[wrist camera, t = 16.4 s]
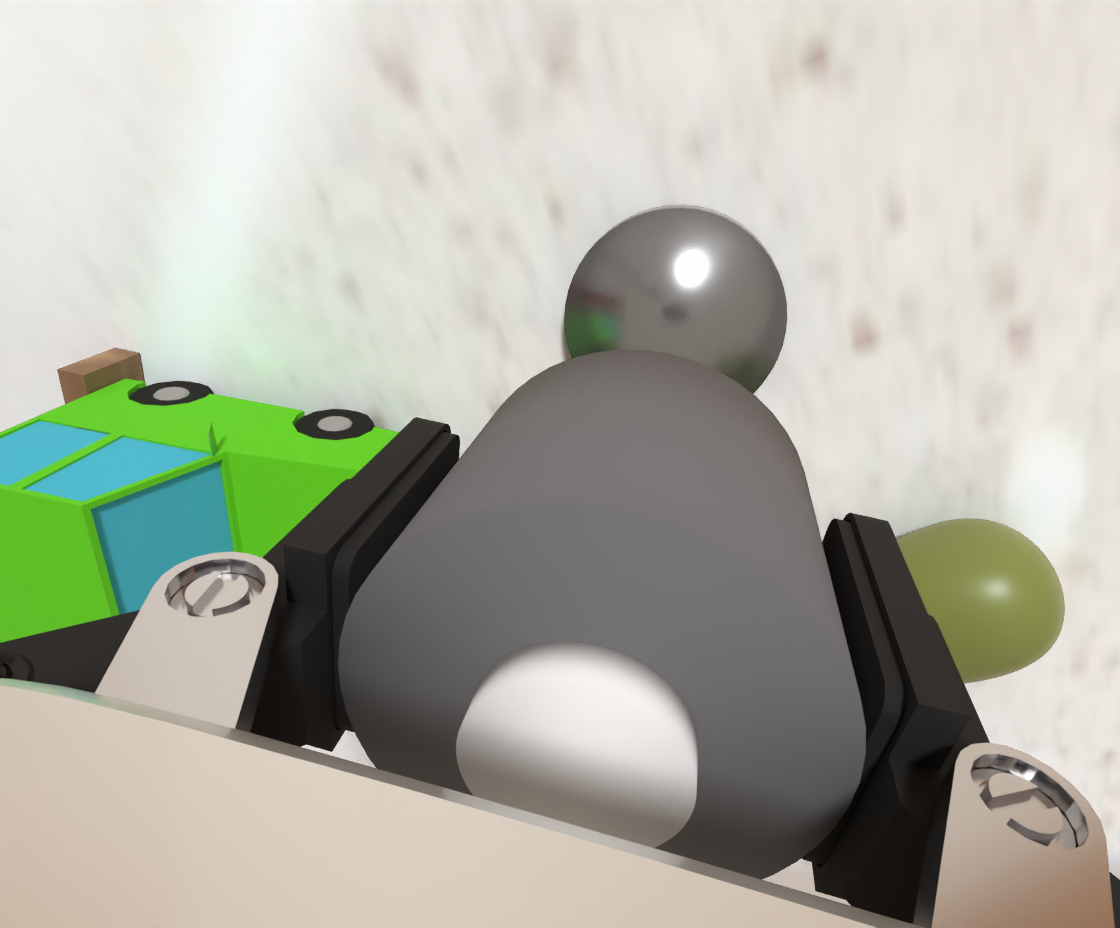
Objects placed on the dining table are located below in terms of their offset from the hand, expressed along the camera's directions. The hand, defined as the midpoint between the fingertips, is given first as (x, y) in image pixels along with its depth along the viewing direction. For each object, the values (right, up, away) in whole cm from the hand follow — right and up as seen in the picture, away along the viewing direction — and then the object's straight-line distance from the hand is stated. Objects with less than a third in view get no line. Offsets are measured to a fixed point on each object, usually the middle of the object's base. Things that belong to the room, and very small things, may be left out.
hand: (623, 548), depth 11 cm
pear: (+12, -3, +16) cm, 21 cm away
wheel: (0, +1, +1) cm, 1 cm away
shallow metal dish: (+3, +7, +13) cm, 15 cm away
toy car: (-14, +1, +20) cm, 24 cm away
